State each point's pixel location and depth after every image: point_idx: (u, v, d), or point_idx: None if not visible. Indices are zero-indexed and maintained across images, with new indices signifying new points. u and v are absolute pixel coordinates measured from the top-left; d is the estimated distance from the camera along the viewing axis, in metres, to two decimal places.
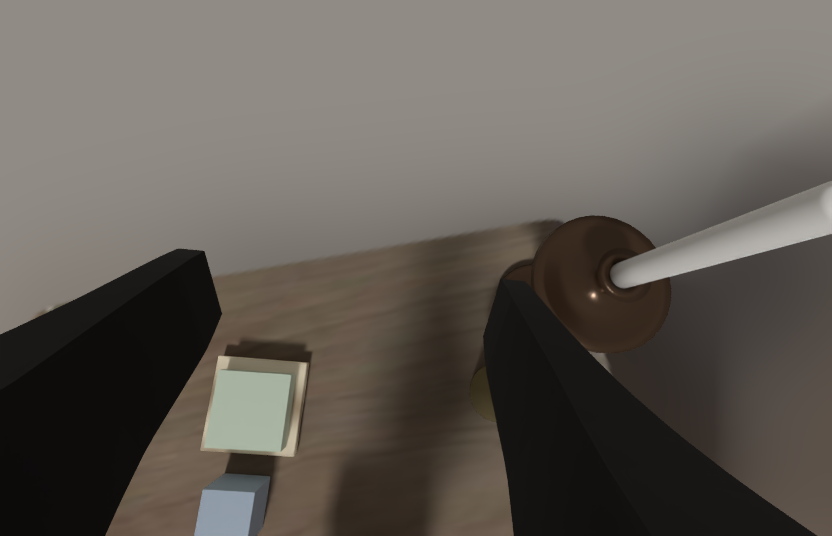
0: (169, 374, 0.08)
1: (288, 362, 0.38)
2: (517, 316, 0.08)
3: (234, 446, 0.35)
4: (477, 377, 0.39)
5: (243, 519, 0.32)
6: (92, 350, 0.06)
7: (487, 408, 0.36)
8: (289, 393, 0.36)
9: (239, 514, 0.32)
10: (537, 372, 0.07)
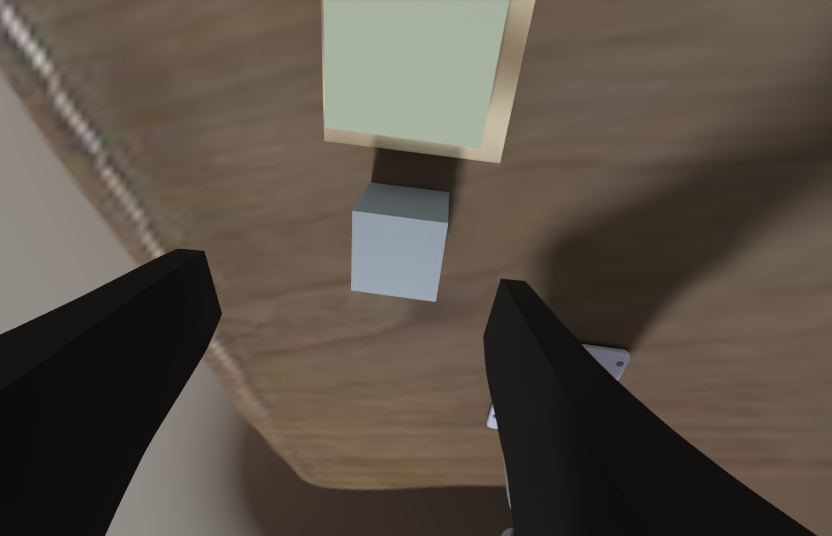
0: (168, 374, 0.08)
1: None
2: (517, 316, 0.08)
3: (386, 129, 0.16)
4: None
5: (429, 261, 0.18)
6: (92, 350, 0.06)
7: None
8: None
9: (422, 254, 0.18)
10: (537, 372, 0.07)
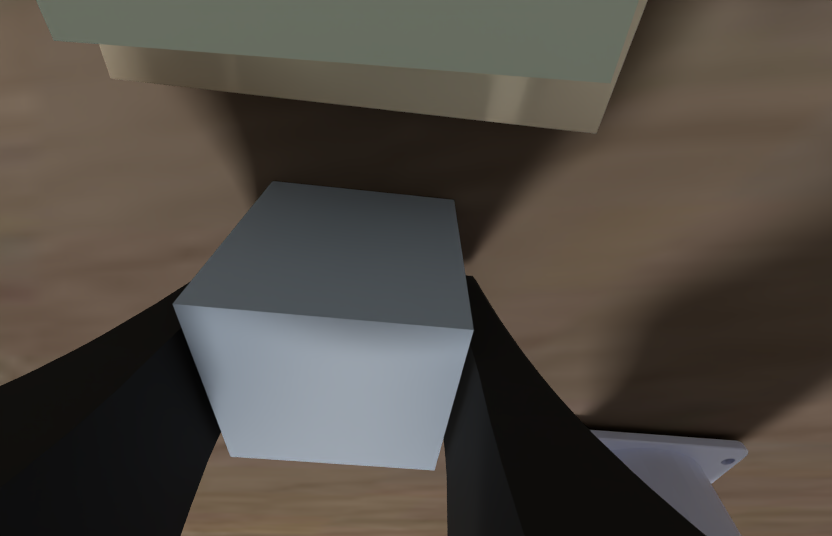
0: None
1: None
2: None
3: (272, 33, 0.04)
4: None
5: (419, 408, 0.07)
6: (174, 356, 0.06)
7: None
8: None
9: (398, 394, 0.07)
10: (466, 366, 0.07)
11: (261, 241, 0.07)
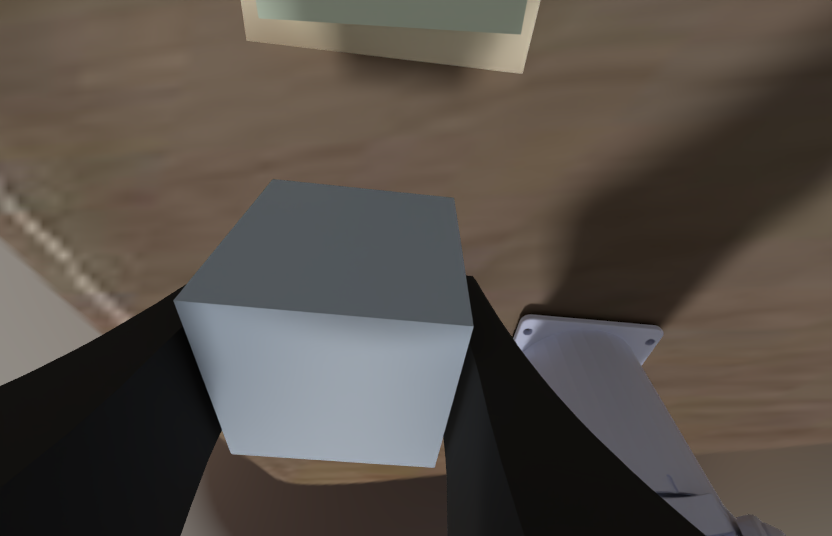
0: None
1: None
2: None
3: (361, 13, 0.10)
4: None
5: (419, 405, 0.07)
6: (174, 356, 0.06)
7: None
8: None
9: (398, 391, 0.07)
10: (466, 366, 0.07)
11: (261, 239, 0.07)
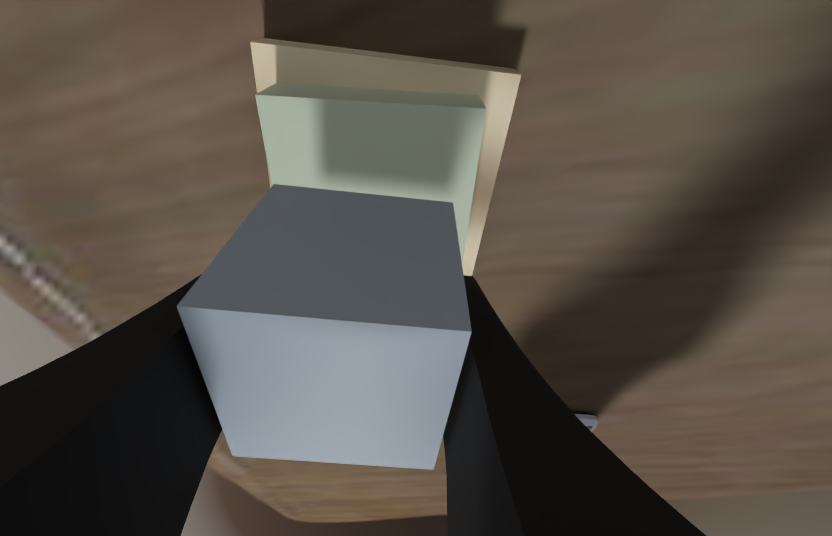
0: None
1: (465, 71, 0.12)
2: None
3: None
4: None
5: (418, 408, 0.07)
6: (174, 356, 0.06)
7: None
8: None
9: (398, 394, 0.07)
10: (466, 366, 0.07)
11: (263, 244, 0.07)
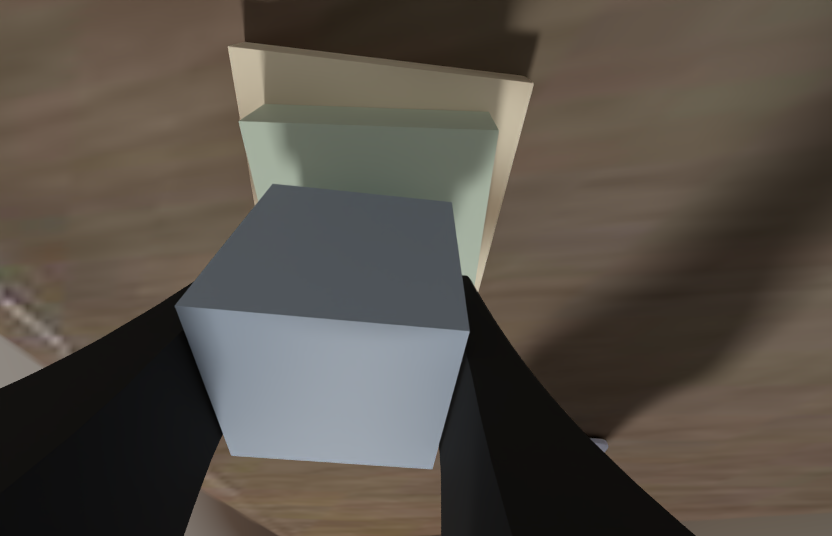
0: None
1: (471, 79, 0.11)
2: None
3: None
4: None
5: (416, 408, 0.07)
6: (178, 356, 0.06)
7: None
8: None
9: (396, 394, 0.07)
10: None
11: (261, 244, 0.07)
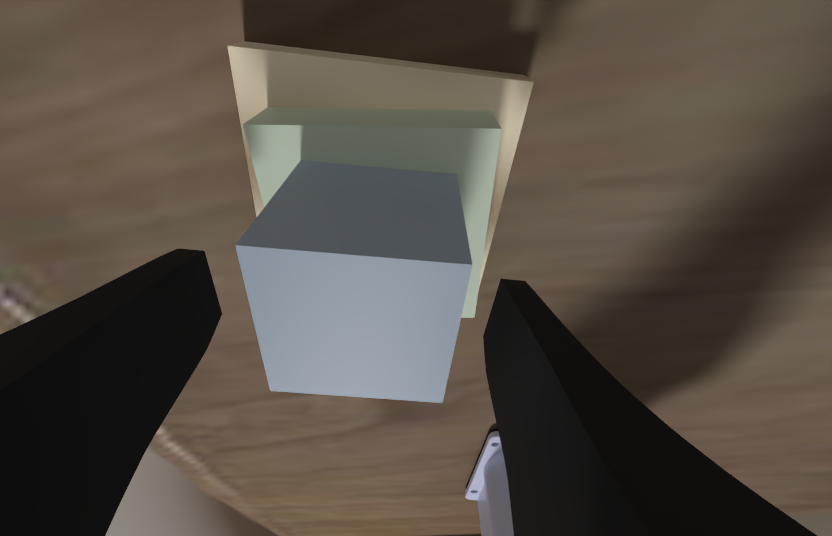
0: (169, 374, 0.08)
1: (470, 78, 0.11)
2: (517, 316, 0.08)
3: None
4: None
5: (429, 339, 0.08)
6: (92, 350, 0.06)
7: None
8: None
9: (412, 326, 0.08)
10: (537, 372, 0.07)
11: (297, 204, 0.08)
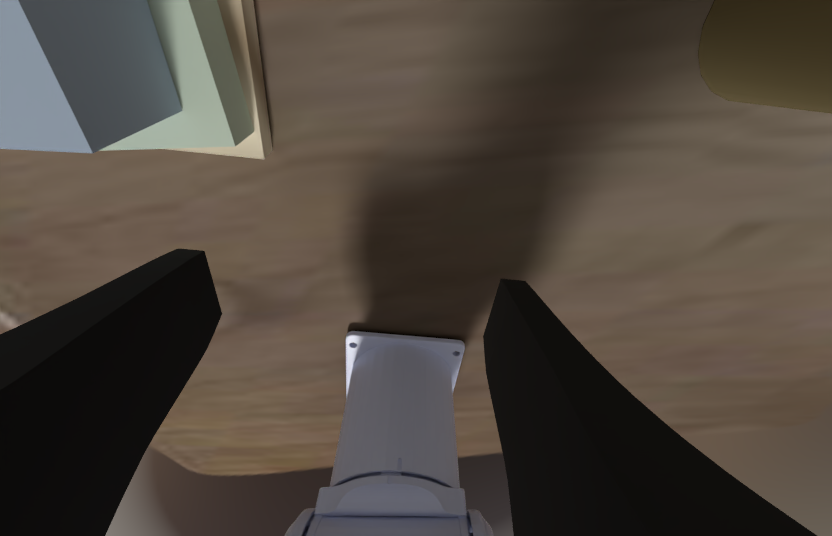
0: (168, 374, 0.08)
1: None
2: (517, 316, 0.08)
3: (126, 143, 0.14)
4: None
5: (18, 52, 0.09)
6: (92, 350, 0.06)
7: (806, 64, 0.11)
8: None
9: None
10: (537, 372, 0.07)
11: None
